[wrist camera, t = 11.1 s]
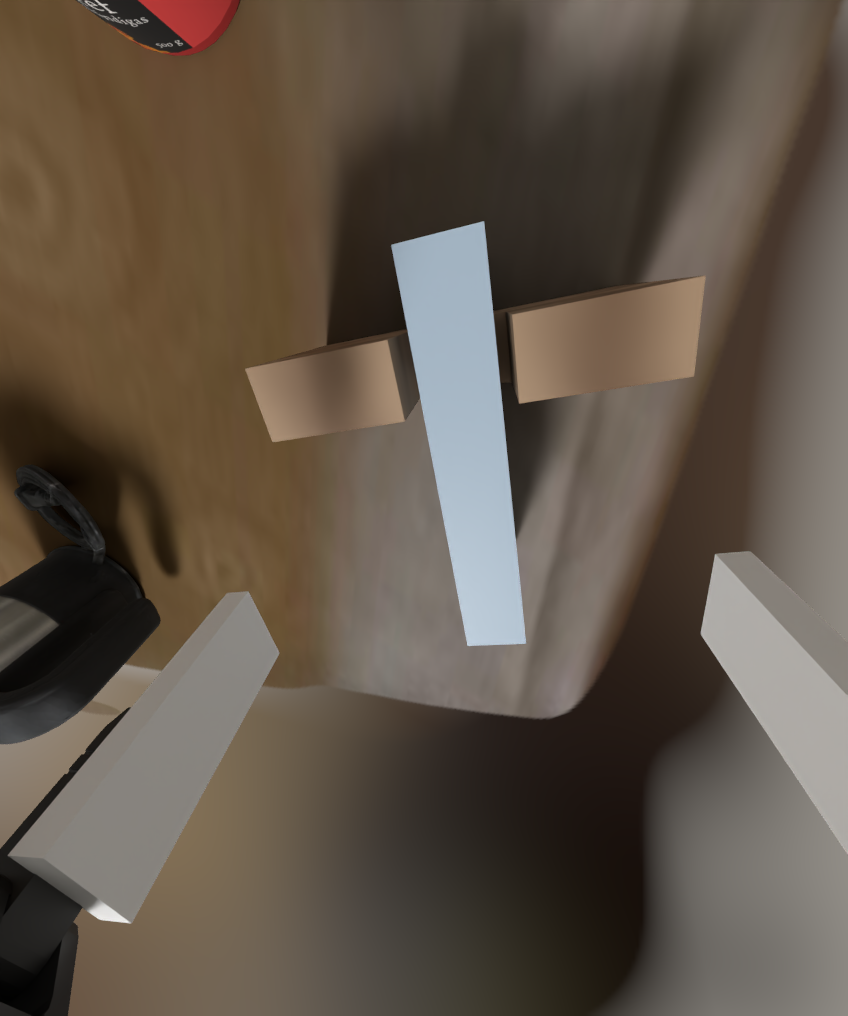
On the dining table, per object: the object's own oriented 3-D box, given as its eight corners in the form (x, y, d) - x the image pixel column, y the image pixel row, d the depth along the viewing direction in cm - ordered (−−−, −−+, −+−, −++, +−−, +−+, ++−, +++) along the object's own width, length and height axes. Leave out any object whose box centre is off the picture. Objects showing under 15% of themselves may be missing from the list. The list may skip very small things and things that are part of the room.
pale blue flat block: (426, 266, 20) (391, 244, 13) (483, 252, 20) (484, 221, 12) (471, 550, 28) (467, 645, 20) (513, 546, 28) (526, 643, 20)
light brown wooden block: (340, 396, 24) (272, 442, 16) (326, 345, 23) (245, 368, 15) (614, 348, 21) (694, 376, 13) (616, 285, 20) (705, 275, 12)
